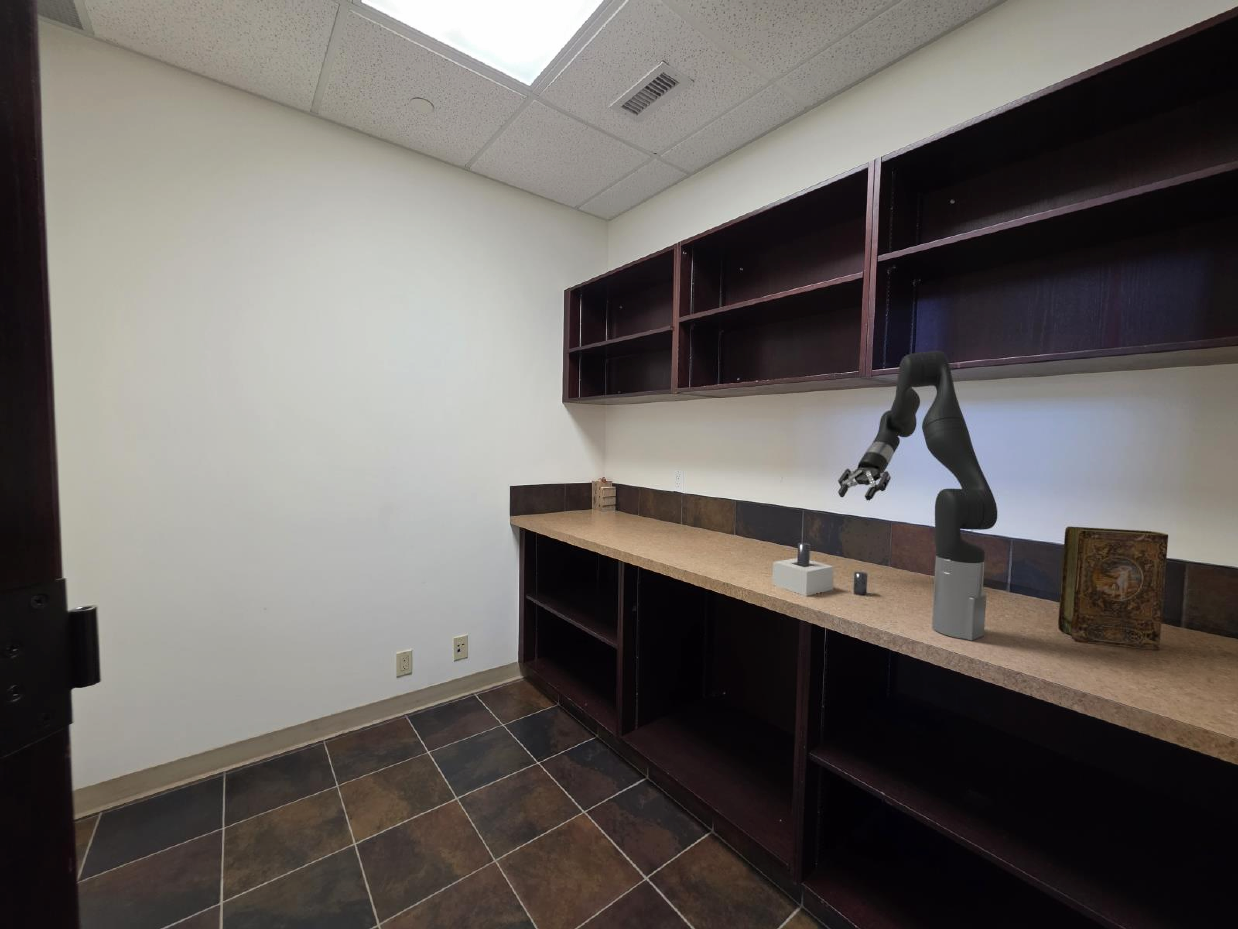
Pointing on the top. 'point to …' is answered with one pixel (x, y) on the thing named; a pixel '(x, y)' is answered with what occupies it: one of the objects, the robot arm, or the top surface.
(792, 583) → the hole block
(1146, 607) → the book
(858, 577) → the short pin
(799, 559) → the long pin
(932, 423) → the robot arm
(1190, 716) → the top surface
